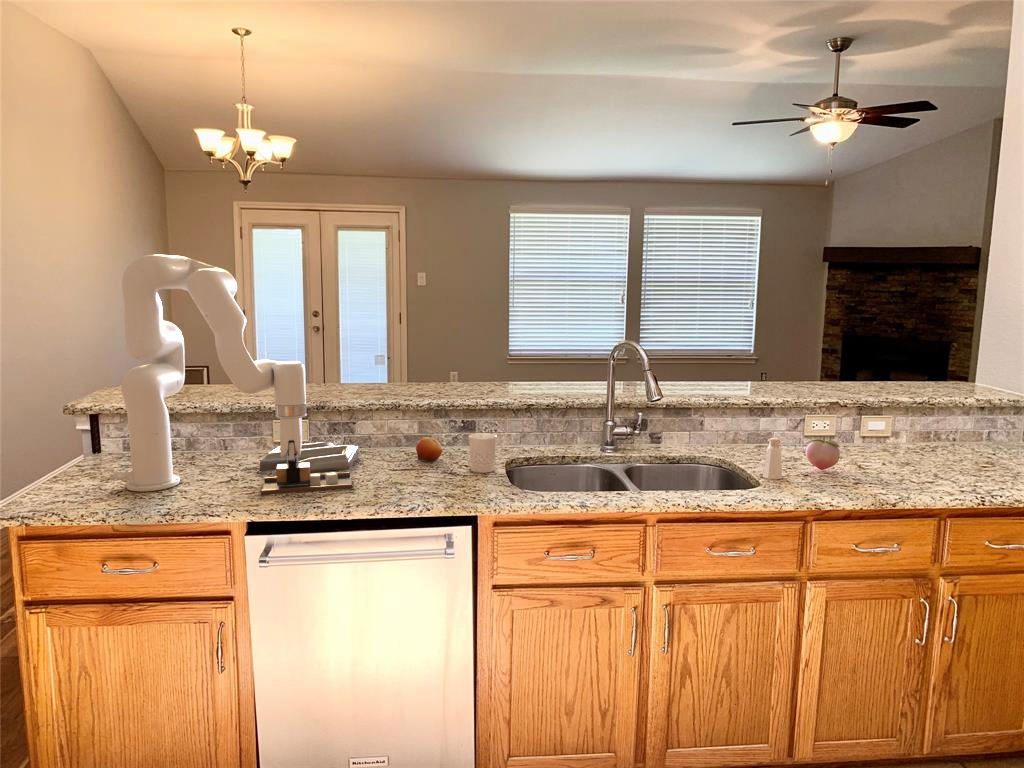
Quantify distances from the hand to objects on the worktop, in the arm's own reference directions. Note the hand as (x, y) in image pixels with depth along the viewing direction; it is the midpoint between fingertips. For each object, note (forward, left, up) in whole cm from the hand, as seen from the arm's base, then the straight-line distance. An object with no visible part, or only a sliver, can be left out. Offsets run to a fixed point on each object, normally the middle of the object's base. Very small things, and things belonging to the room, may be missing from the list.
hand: (293, 479), depth 180 cm
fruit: (+38, +21, -3) cm, 44 cm away
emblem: (+4, +22, -3) cm, 23 cm away
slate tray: (+3, 0, -3) cm, 4 cm away
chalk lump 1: (+5, 0, -2) cm, 6 cm away
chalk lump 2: (+9, 0, -2) cm, 10 cm away
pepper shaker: (+129, -19, -3) cm, 131 cm away
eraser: (0, 0, -1) cm, 1 cm away
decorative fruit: (+148, -16, -3) cm, 149 cm away
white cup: (+52, +7, -3) cm, 52 cm away
